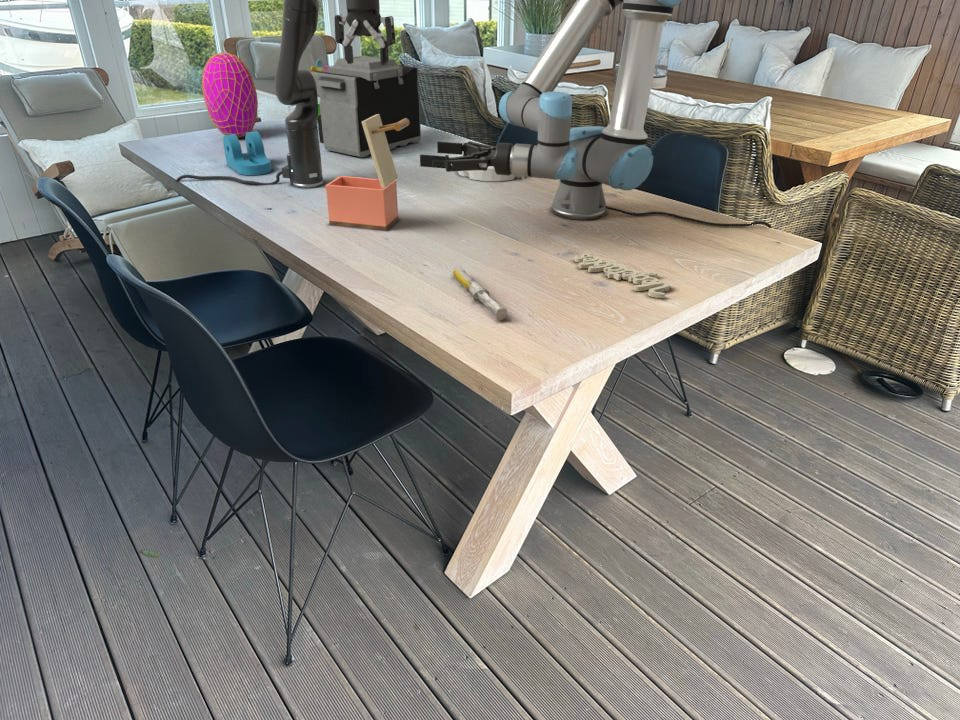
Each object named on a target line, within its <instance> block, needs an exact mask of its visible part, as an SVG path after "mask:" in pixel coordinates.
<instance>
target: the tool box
mask: <svg viewBox="0 0 960 720" xmlns="http://www.w3.org/2000/svg"><path fill="white" fill-rule="evenodd" d="M353 60H354V62H353V63H352V64H348V63H347V61H346V60H345V57H343V58H342V57H341V58H337V59H336V60H335V63H334V64H333V65H330V66H331V67H329V72H321V71H313V72H311V73H312V75H313V76H314V79H315V82H316V86H317V94H318V96H319V97H318V98H319V104H320V111H321V115H319V116H318V121H317V127H318V137H319V144H323V146H324V149H325V150H327V151H330V152H335V153H340V154H344V155H348V156H353V157H357V158H362V159H363V158H366V157H367V158H368V157H369V155H371V152H370V149H369V145H368V142H367V139H366V135H365V132H364V129H363V125H362V121H364V120H366V119H368V118H370V117H372V116H374V115H376V114H380V118H381V121H382V125H383V126H384V125H389V124H393V123H397V122H399V121H401V120H402V119H404V118H407V119H408V120H409V122H410V123H409V125H408V126H406V127H405V128H403V129H401V130H400V131H396V130H395V129H393V130H388V131H384V132H385V135H386V139H387V142H388V145H389V149H390V151H391V150H395V149H396V148H397V147H405V146H407V145H408V144H416V143H418V142H419V141H421V137H422V128H421V97H420V92H419V91H420V89H419V68H418V67H417V66H408V65H400V64H396V62H395V60H394V59H393V58H389V60H388V62H387V64H386V65H381V61H380V57H377V56H367V55H356V56H353Z"/></svg>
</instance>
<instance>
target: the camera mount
mask: <svg viewBox="0 0 960 720" xmlns="http://www.w3.org/2000/svg"><path fill="white" fill-rule="evenodd" d="M244 137H245V146H246V152H243V151H242V150H243V149H242V146H241V142H240V140H239V138H237V136H236V135H235V134H230V135H224V134H223V138H222V140H223V141H222V143H223V149H224V150H223V151H224V156H225V161H226V165H227V166H228V167H230V168H231V169H232V170H234V171H236V172H237V173H238V174H239V175H244V176H260V175H265V174H268V173H271V172H272V164H271V159H270V158H268V157H267V156H266V153H265V145H264V141H263V139H262V136H261V134H260V132H258V131H251V132H247V133H246V136H244Z"/></svg>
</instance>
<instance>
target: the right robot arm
mask: <svg viewBox="0 0 960 720" xmlns="http://www.w3.org/2000/svg"><path fill="white" fill-rule="evenodd" d="M682 1H683V0H576V1H575V2H574V4H573V5H572V7H571V8H570V10H569V11H568V13H567V15H566V16H565V17H564V19H563V20H562V21H561V23H560V25H559V26H558V28H557V29H556V31H555V32H554V33H553V36H551V38H550V39H549V41H548V43H547V44H546V45H545V47H544V49H543V50H542V52H541V53H540V55H539V56H538V58H537V59H536V61H535V62H534V64H533V65H532V67H531V68H530V70H529V71H528V72H527V74H526V76H525V77H524V78H523V80H522V82H521V83H520V85H519V86H518V87H517V89H516V90H511V91H508V92H506V93H505V94H503V95H502V96H501V98H500V101H499V103H498V112H499V115H500V117H501V120H503V121H504V122H506V123H508V124H511V125H513V126H514V127H520V128H524V129H527V130H530V131H533V132H536V133H537V144H528V143H515V144H513V143H512V142H511V143H510V142H499V143H497V145H496V146H494V145H488V144H484V143H479V142H476V141H475V142H474V141H471V140H470V141H469V140H468V141H467V142H463V143H462V142H450V141H449V142H448V141H436V149H437V150H436V151H437V154H445V155H434V154H422V153H421V154H419V166H420V167H422V168H434V169H445V172H447V173H450V172H458V171H472V170H483V171H486V170H487V168H488V166H493V167H494V168H495V173H496V174H497V175H508V176H509V175H511V174H513V176H522V177H521V178H522V179H523V180H525V179H526V178H537V179H549V180H559V185H558V187H557V189H556V192H555V194H554V197H553V199H552V203H551V212H552V213H553V214H554V215H555V216H558V217H561V218H563V219H567V220H568V219H569V220H577V221H587V220H595V219H596V220H597V219H599V218H600V219H601V218H602V217H604V216H605V215H606V214H607V213H606V212H607V210H610V211H613V212H617V213H621V214H624V215H627V216H632V217H633V216H635V217H636V216H637V217H641V216H642V217H643V216H650V215H660V216H661V215H662V216H667V217H672V218H676V219H681V220H684V221H689V222H692V223H693V222H694V223H698V224H702V225H707V226H716V227H741V228H742V227H750V226H754V225H764V226H766V227H767V228H768V229H772V228H773V226H772V225H771V224H770V223H769V222H766V221H763V220H757V221H752V222H750V223H751V224H747V223H748V222H747V223H724V222H723V223H722V222H721V223H720V222H711V221H706V220H701V219H697V218H692V217H688V216H684V215H683V216H682V215H678V214H675V213H671V212H665V211H645V212H630V211H626V210H624V209H620V208H616V207H612V206H609V205H608V206H607V204H606V199H605V195H604V189H603V185H606V186H609V187H611V188H612V189H616V190H622V191H632V190H635V189H637V188H638V187H640V186H641V185H642V184H643V182H645V181H646V179H647V178H648V176H649V175H650V173H651V171H652V169H653V166H654V165H653V164H654V155H653V152H652V150H651V149H650V148H649V147H648V146H647V145H648V144H647V142H648V138H649V135H648V134H647V132H646V131H645V128H644V126H645V122H646V116H647V111H648V107H649V100H650V96H651V91H652V86H653V81H654V76H655V70H656V65H657V59H658V54H659V50H660V45H661V39H662V34H663V29H664V24H665V22H666V21H667V20H669V19H670V18H671V17H672V16H673V12H674V9H675V8H674V7H675V6H677V5H679V4H680V3H681V2H682ZM621 4H622V8H621V11H622V13H623V14H624V16H625V17H626V23H625V29H624V34H623V41H622V45H621V53H620V59H619V65H618V70H617V76H616V80H615V81H616V82H615V88H614V94H613V99H612V105H611V111H610V117H609V122H608V125H607V126H606V127H605V126H601V125H599V126H598V125H587V126H577V127H571V126H572V125H571V124H572V116H573V109H572V108H573V104H572V103H573V98H572V96H571V95H570V93H567V92H564V91H555V89H556V88H557V87H558V86H559V83H561V81H562V79H563V77H564V76H565V74H567V72H568V71H569V69H570V67H571V66H572V64H573V63H574V62H575V60H576V59H577V57H578V55H579V54H580V53H581V51H582V49H583V48H584V47H585V45H586V44H587V42H588V41H589V39H590V38H591V36H592V35H593V34H594V32H595V30H596V29H597V27H598V26H599V24H600V22H601V21H602V20H603V18H604V17H609V16H610V15H611V14H612V13H613V11H614V10H615V9H616V7H618V6H619V5H621ZM449 155H459V156H460V157H459V156H452V157H450V156H449ZM461 155H463V156H461ZM467 155H469V156H467ZM752 224H753V225H752Z"/></svg>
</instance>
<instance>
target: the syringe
mask: <svg viewBox="0 0 960 720" xmlns="http://www.w3.org/2000/svg"><path fill="white" fill-rule="evenodd" d="M452 274H453V277H454V279H455V280H457V281H458V282H459V283H460V285H462V287H464V289H466V290H467V291H468V293H470V295H471V296H472V298H473V300H474V302H477V303H478V302H480V303H482V304H483V305H484V306H485V307H486V308H487V309H488V310H489V311H490V312H491V313H492V314H493V315H494V316H495V317H496V320H497V321H503V320H504V319H506V318H507V317H509V314H508V310H507V308H506V307H502V306H501V305H500V303H498V302H497V301H496V300H494V299H493V298H492V297H491V296H490V295H491V293H490V290H488V289H486V288H483V287H482V286H481V285H480V284H479V283H478V282H477V281H476V280H474V278H473V277H471V275H469V274H468V273H467V272H466V270H465V269H464V268H463V267H462V266H456V267H454V268H453V271H452Z"/></svg>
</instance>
